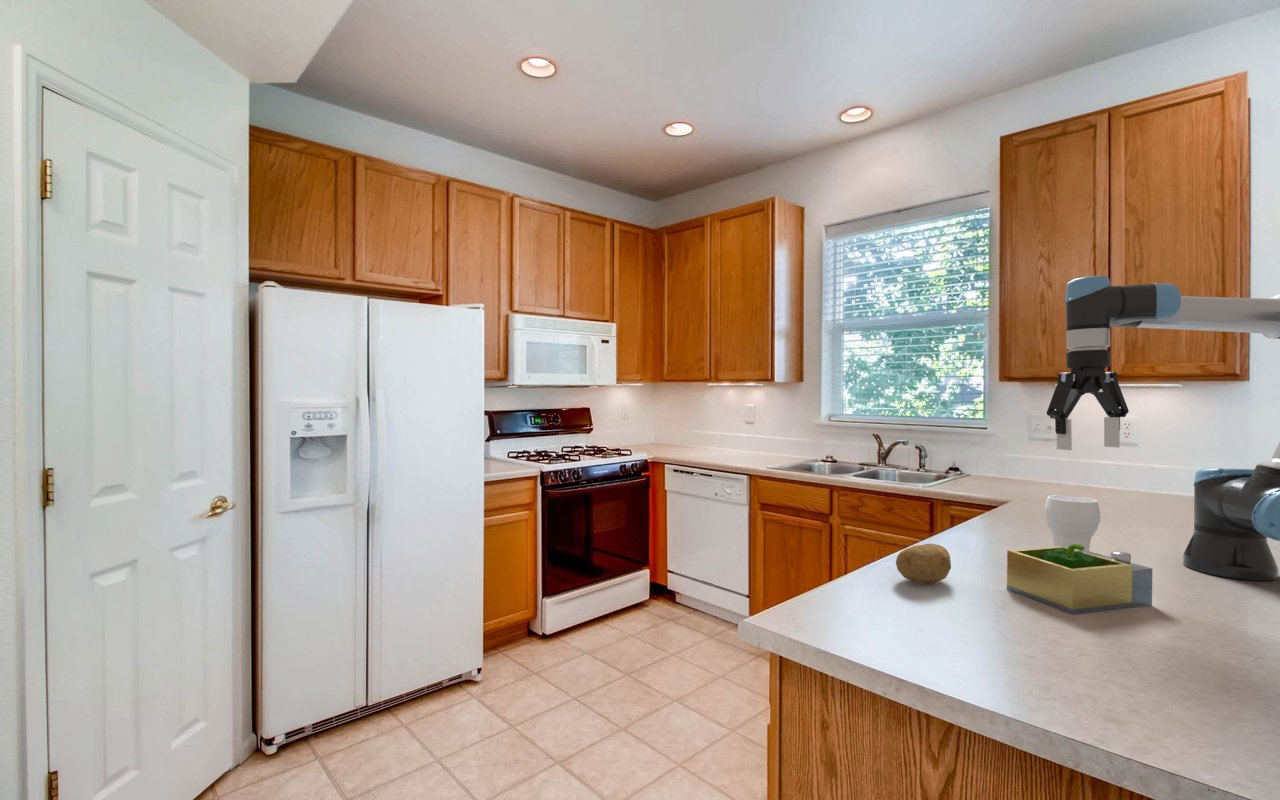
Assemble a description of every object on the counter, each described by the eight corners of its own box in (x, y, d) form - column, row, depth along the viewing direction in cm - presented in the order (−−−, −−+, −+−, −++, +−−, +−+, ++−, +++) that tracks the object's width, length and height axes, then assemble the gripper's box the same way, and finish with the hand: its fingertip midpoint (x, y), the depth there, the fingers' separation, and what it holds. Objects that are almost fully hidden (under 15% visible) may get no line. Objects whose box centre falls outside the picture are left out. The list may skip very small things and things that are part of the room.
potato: (963, 581, 126) (964, 544, 126) (931, 595, 117) (932, 555, 117) (918, 570, 133) (918, 535, 133) (885, 583, 125) (885, 545, 125)
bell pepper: (1034, 585, 120) (1035, 536, 120) (1078, 587, 119) (1079, 537, 119) (1058, 599, 112) (1058, 547, 112) (1105, 601, 111) (1106, 548, 111)
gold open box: (1080, 582, 125) (1080, 539, 125) (1151, 605, 112) (1152, 557, 112) (1006, 589, 121) (1007, 545, 121) (1072, 614, 107) (1073, 565, 107)
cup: (1109, 570, 134) (1110, 503, 134) (1056, 567, 136) (1057, 502, 136) (1084, 557, 144) (1085, 495, 144) (1035, 554, 146) (1036, 494, 146)
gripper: (1112, 351, 135) (1113, 444, 135) (1026, 350, 128) (1027, 449, 128) (1149, 348, 128) (1149, 447, 128) (1059, 348, 121) (1060, 452, 121)
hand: (1088, 448), depth 128 cm, fingers open, 13 cm apart
